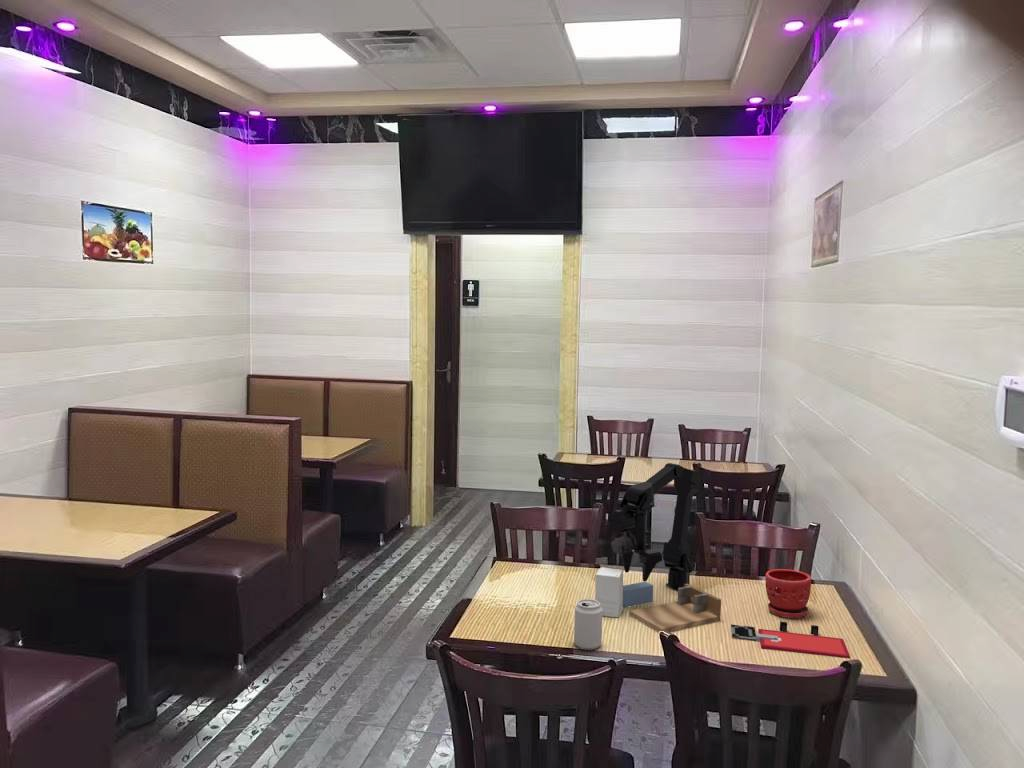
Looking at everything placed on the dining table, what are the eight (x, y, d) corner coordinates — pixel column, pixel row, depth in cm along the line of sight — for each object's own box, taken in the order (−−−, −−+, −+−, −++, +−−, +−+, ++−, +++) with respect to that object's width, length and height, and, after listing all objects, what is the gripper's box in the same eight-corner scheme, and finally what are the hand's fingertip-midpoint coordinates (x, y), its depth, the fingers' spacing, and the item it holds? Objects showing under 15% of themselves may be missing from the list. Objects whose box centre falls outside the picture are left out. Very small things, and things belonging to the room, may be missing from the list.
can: (571, 639, 214) (572, 597, 213) (598, 639, 215) (599, 597, 214) (576, 651, 207) (577, 607, 206) (604, 650, 208) (605, 607, 206)
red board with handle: (730, 624, 227) (732, 646, 212) (731, 615, 227) (732, 637, 212) (840, 638, 220) (849, 661, 205) (841, 628, 219) (850, 651, 205)
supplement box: (623, 609, 237) (624, 569, 236) (618, 618, 230) (619, 576, 229) (599, 606, 239) (600, 566, 238) (594, 614, 233) (595, 573, 231)
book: (644, 598, 247) (645, 581, 247) (652, 602, 244) (653, 585, 244) (616, 603, 242) (617, 586, 242) (624, 608, 239) (624, 590, 238)
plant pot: (810, 609, 240) (812, 571, 239) (807, 624, 228) (809, 584, 227) (766, 602, 245) (768, 565, 244) (761, 616, 234) (763, 577, 233)
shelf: (686, 603, 243) (687, 583, 242) (720, 620, 229) (721, 599, 229) (629, 615, 232) (630, 594, 232) (661, 634, 219) (662, 611, 219)
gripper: (598, 523, 245) (597, 571, 247) (634, 538, 229) (633, 590, 230) (627, 519, 251) (625, 566, 252) (664, 534, 234) (662, 584, 236)
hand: (635, 576), depth 242 cm, fingers open, 9 cm apart
